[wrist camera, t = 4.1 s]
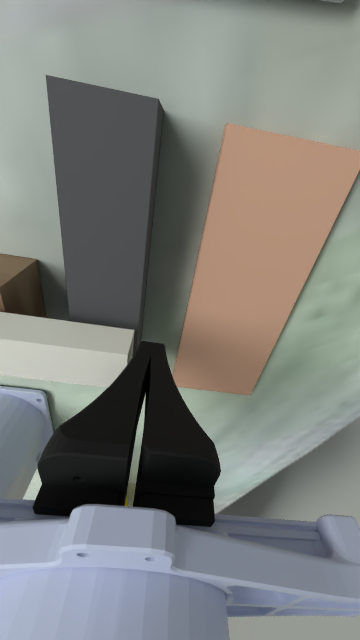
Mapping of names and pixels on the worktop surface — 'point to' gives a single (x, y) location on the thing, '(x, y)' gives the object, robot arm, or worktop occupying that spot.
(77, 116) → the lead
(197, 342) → the mat
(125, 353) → the strap
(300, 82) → the worktop surface
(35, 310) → the block
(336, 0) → the hard drive
